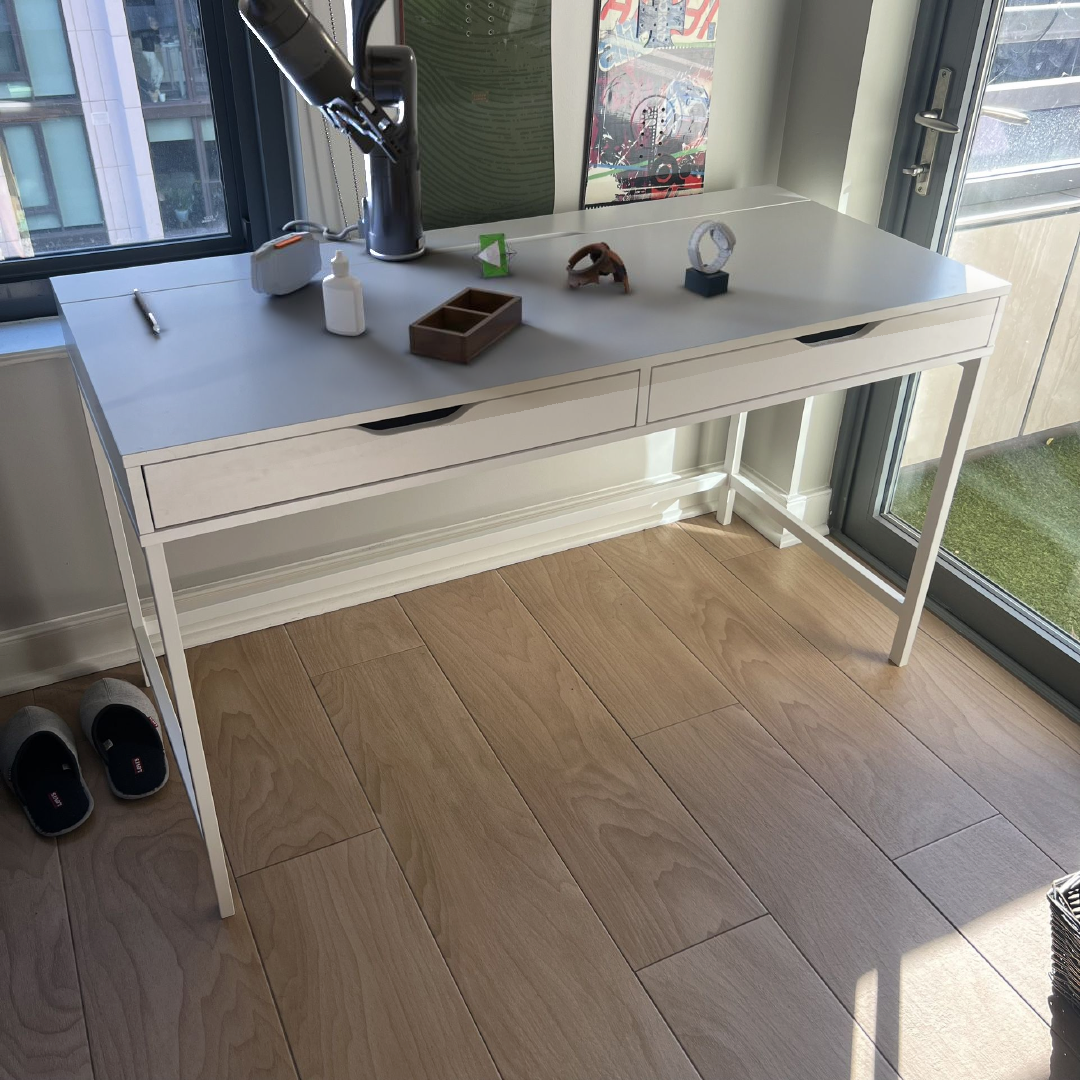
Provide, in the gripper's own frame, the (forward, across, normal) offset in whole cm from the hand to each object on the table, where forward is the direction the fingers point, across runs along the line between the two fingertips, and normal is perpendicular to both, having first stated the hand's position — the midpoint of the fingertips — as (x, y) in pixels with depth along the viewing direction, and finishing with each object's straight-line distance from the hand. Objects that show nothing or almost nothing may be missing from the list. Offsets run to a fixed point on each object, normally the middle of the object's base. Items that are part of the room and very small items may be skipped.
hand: (385, 154), depth 147 cm
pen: (+1, +25, +37) cm, 45 cm away
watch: (+48, -17, -23) cm, 56 cm away
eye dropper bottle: (+14, +1, +21) cm, 26 cm away
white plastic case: (+14, +22, +19) cm, 33 cm away
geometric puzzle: (+33, +9, -5) cm, 34 cm away
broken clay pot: (+40, -6, -12) cm, 42 cm away
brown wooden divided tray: (+22, -11, +11) cm, 27 cm away
